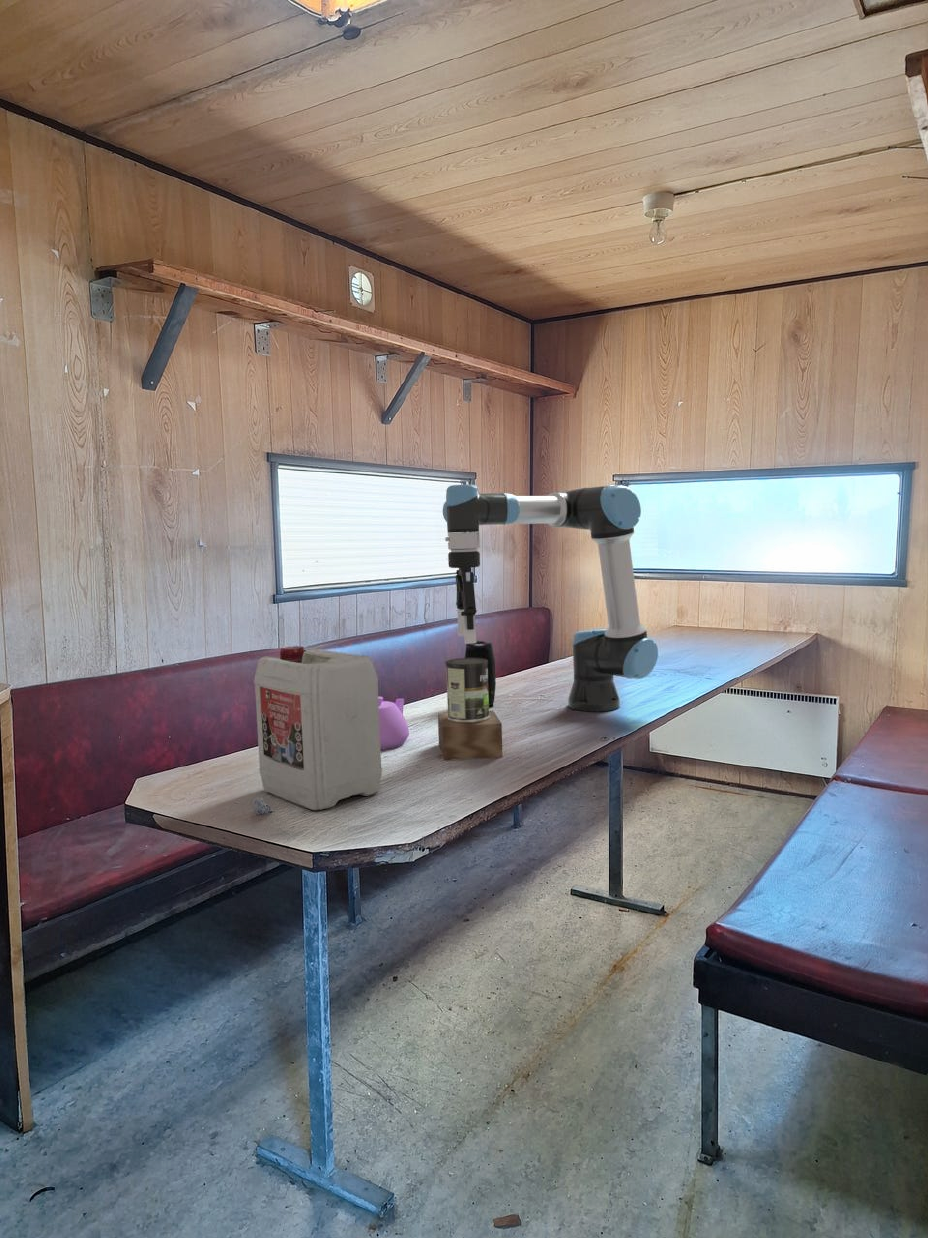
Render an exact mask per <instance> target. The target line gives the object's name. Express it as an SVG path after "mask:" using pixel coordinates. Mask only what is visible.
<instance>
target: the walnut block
mask: <svg viewBox="0 0 928 1238" xmlns="http://www.w3.org/2000/svg"><path fill="white" fill-rule="evenodd" d="M502 725H503V724H502V722H501V720H500V719H499V717H498V715H497V714H496V713H495V711H494V710H489V719H487V720H484V721H480V722H471V723H460V722H453V721H450V720H448V712H441V713H437V728H438V746H440V747H439V749H440V753H442V754H441V757H442V760H443V761H449V760H448V759H457V760H470V758H474V759H488V758H489V759H491V758H501V757H504V756H503V729H502V728H503V727H502Z"/></svg>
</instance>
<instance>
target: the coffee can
mask: <svg viewBox="0 0 928 1238" xmlns="http://www.w3.org/2000/svg"><path fill="white" fill-rule="evenodd" d="M445 669H446V670H445V671H446V694H447V695H446V697H447V699H446V700H447V713H448V720H450V721H453V722H460V723H471V722H480V721H484V720H487V719H489V711H490V705H489V695H488V660H486V659H482V658H465V657H461V658H460V657H459V658H458V657H457V658H452V659H447V660H446V661H445Z"/></svg>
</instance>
